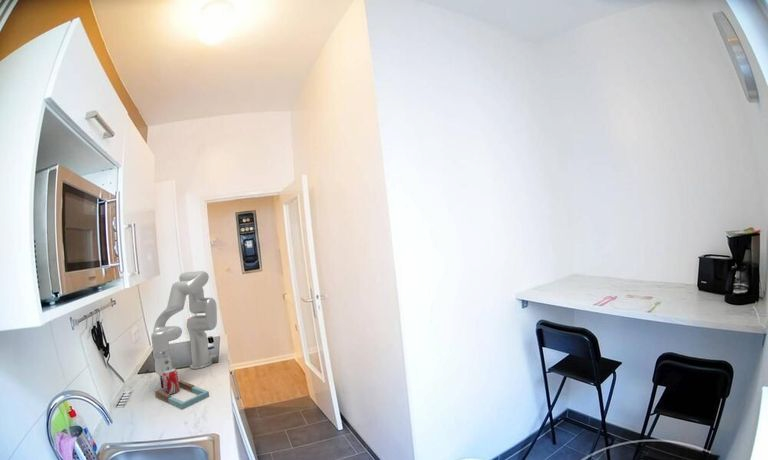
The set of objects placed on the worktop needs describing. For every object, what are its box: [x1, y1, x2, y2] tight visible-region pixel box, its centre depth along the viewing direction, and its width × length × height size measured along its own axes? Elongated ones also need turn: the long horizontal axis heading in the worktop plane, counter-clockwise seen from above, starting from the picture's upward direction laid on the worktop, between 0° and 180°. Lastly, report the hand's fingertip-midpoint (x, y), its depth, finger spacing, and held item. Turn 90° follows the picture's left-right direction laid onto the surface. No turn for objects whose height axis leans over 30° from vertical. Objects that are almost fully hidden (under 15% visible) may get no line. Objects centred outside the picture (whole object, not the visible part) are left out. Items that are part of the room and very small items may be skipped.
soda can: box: [162, 367, 180, 395], centre depth 186 cm, size 7×7×12 cm
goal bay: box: [168, 386, 210, 410], centre depth 176 cm, size 13×14×2 cm
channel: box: [154, 380, 196, 404], centre depth 184 cm, size 13×14×3 cm
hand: (165, 386), depth 190 cm, fingers closed
